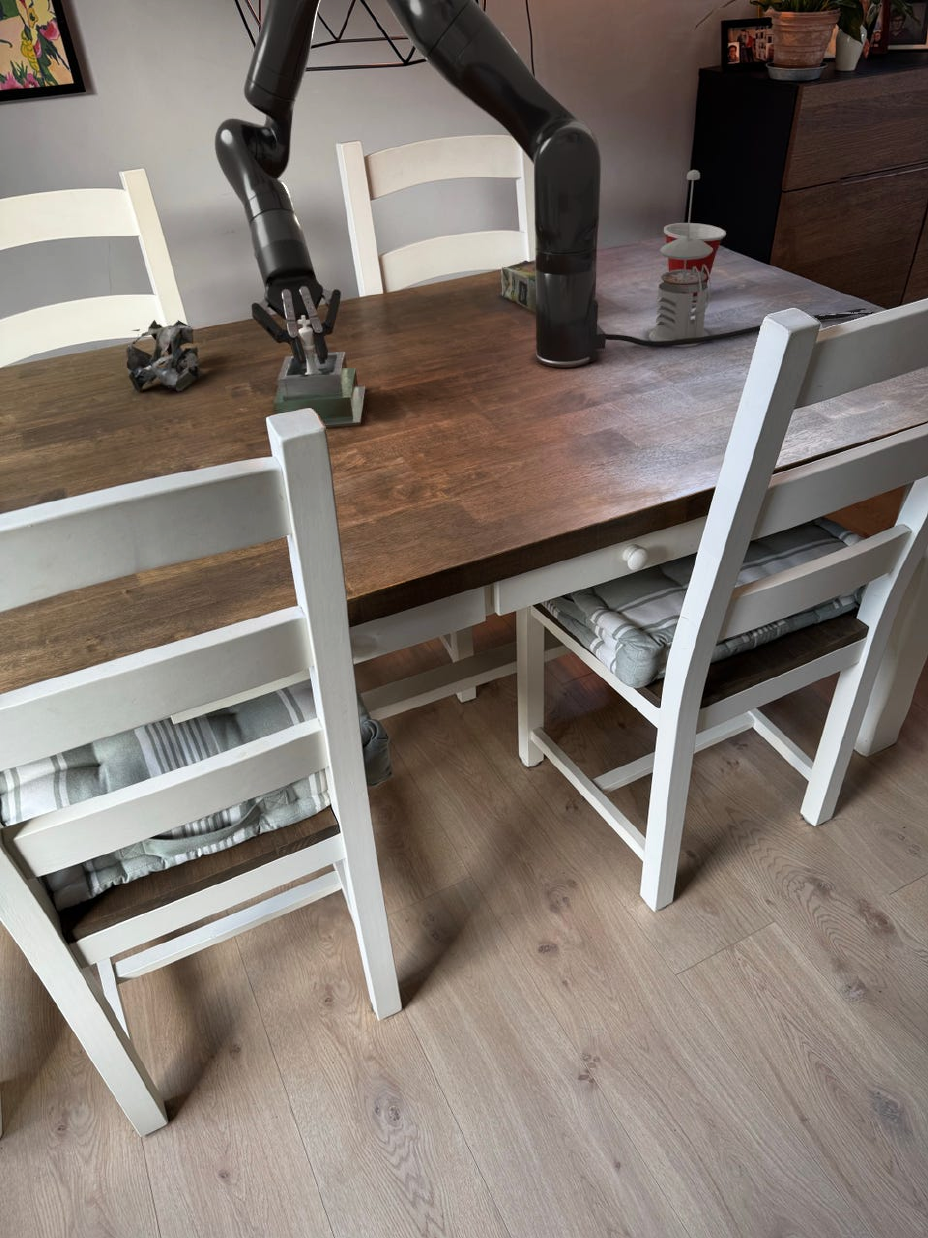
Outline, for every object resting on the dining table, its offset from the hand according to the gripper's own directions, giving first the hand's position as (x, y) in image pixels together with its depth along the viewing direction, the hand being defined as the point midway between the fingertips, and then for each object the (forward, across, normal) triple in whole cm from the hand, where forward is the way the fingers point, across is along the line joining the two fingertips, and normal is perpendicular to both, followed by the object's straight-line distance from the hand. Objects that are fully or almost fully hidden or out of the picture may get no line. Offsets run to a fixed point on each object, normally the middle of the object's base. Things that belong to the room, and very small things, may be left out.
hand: (313, 362), depth 122 cm
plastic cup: (-7, +73, +19) cm, 76 cm away
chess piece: (+1, 0, +4) cm, 5 cm away
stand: (+4, 0, +7) cm, 8 cm away
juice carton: (-14, +49, +26) cm, 57 cm away
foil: (-13, -20, +25) cm, 34 cm away
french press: (+5, +61, +7) cm, 62 cm away
